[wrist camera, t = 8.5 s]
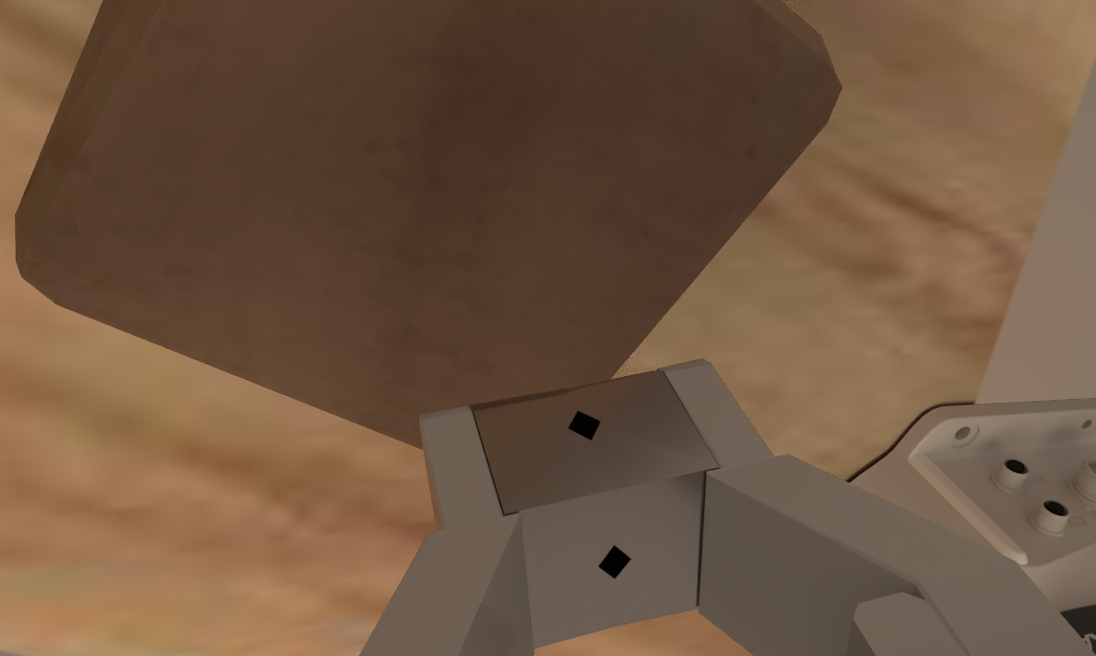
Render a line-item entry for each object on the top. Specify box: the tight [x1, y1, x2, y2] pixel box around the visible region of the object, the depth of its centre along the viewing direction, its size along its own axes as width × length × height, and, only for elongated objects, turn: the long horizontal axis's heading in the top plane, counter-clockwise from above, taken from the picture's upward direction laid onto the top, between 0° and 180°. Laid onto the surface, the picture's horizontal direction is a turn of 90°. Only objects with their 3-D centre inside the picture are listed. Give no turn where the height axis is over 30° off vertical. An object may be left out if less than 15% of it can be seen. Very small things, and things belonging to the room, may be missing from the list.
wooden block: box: [15, 0, 842, 450], centre depth 23 cm, size 10×10×20 cm
